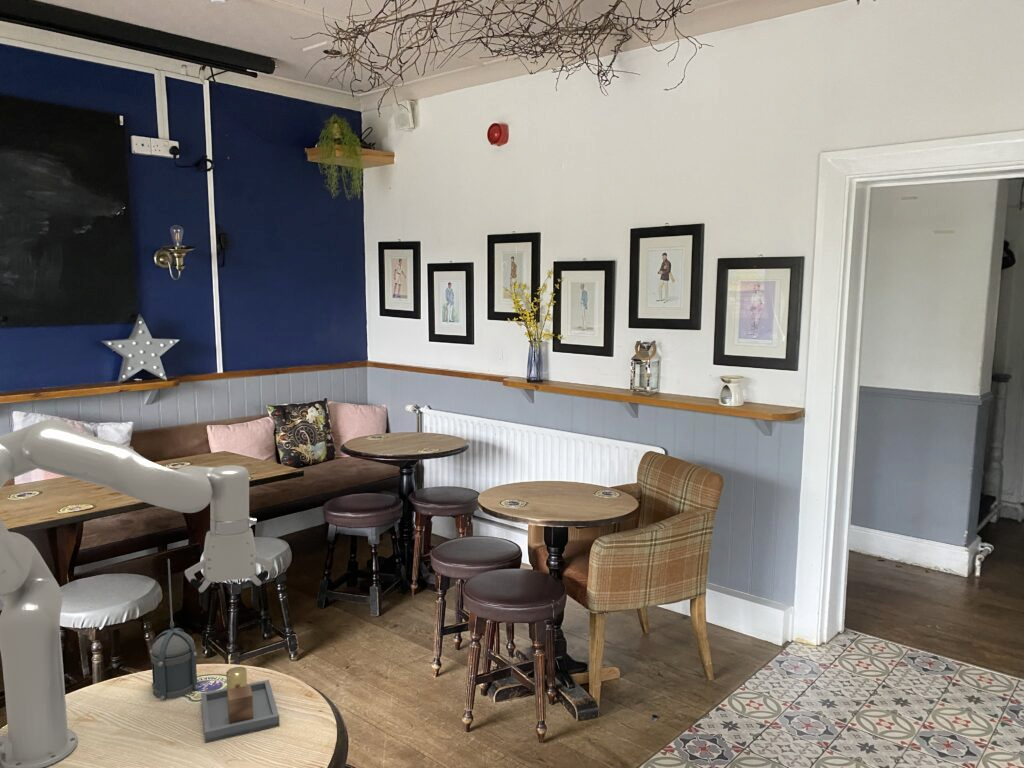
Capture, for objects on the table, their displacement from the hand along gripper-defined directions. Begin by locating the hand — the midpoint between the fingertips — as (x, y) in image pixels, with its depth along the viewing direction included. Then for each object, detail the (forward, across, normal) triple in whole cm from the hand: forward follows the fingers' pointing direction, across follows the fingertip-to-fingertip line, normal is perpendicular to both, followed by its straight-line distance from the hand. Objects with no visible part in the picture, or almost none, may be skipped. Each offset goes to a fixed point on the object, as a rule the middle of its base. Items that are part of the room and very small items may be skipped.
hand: (229, 605), depth 158 cm
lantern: (+23, +10, -14) cm, 29 cm away
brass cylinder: (+22, -2, 0) cm, 22 cm away
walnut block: (+22, -2, +7) cm, 23 cm away
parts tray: (+23, -2, +3) cm, 23 cm away
